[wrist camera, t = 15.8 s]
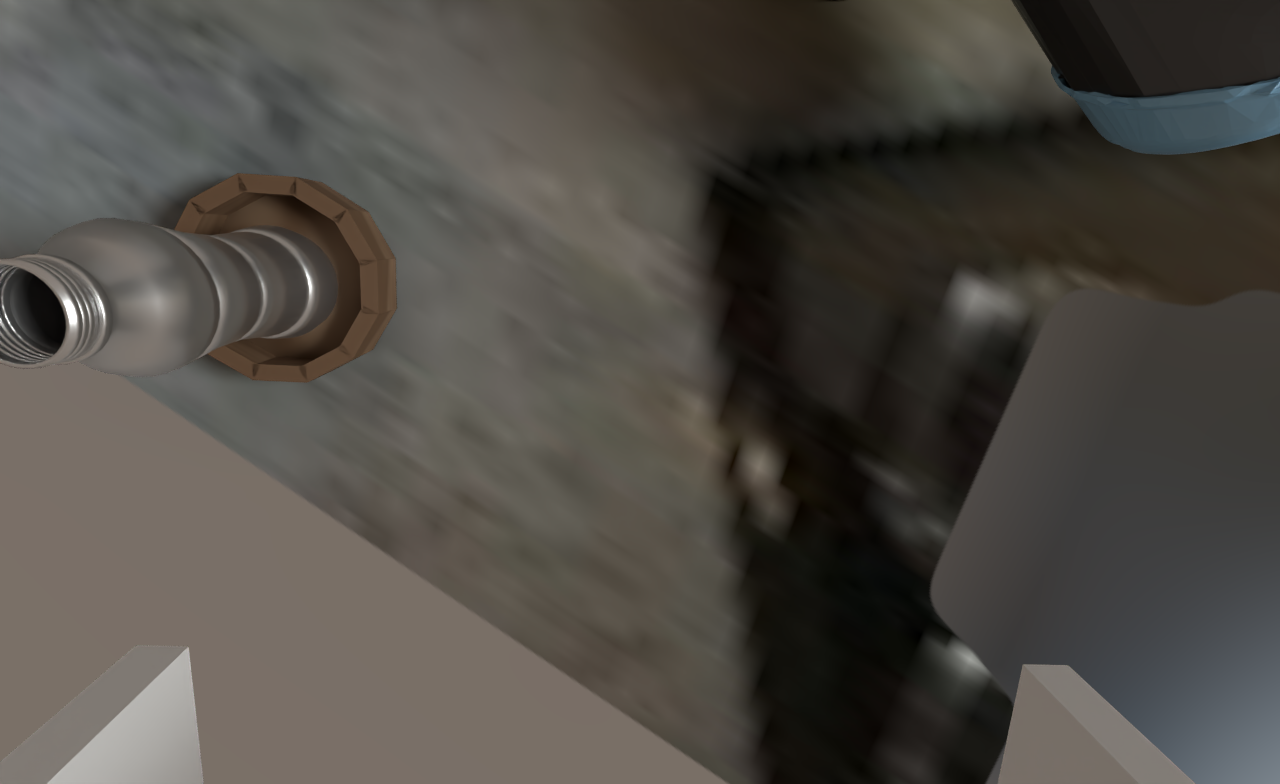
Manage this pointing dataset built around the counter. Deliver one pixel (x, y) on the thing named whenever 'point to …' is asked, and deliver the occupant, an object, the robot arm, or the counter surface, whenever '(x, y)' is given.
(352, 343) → the bowl
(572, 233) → the counter surface
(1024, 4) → the robot arm
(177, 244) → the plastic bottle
